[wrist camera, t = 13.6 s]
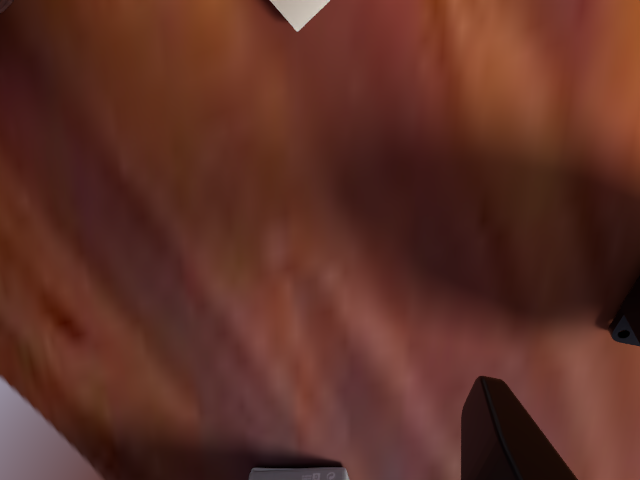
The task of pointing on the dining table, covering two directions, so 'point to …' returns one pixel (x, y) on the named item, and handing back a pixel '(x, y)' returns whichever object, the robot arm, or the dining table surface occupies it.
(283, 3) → the ring stand
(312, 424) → the dining table surface
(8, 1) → the grey round cylinder
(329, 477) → the skincare box
